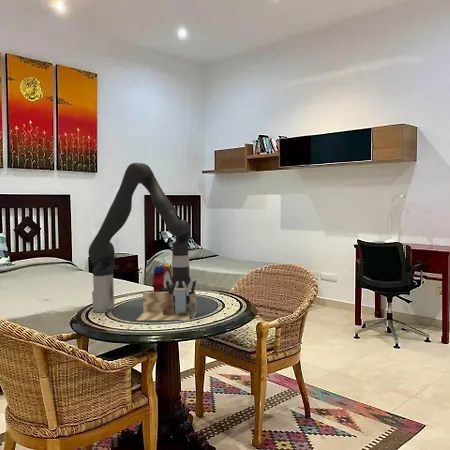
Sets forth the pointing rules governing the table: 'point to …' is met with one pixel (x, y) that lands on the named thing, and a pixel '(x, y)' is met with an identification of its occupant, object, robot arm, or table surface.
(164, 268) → the alarm clock
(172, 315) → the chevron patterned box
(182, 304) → the blue grey block
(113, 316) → the table surface
